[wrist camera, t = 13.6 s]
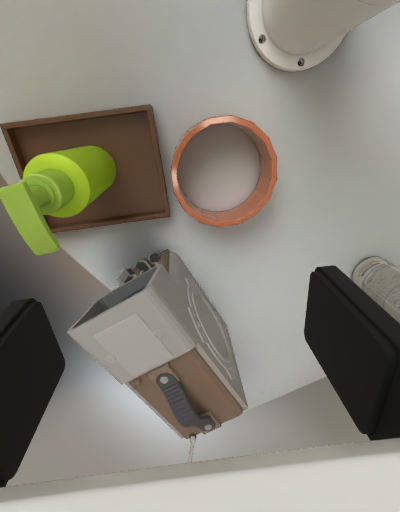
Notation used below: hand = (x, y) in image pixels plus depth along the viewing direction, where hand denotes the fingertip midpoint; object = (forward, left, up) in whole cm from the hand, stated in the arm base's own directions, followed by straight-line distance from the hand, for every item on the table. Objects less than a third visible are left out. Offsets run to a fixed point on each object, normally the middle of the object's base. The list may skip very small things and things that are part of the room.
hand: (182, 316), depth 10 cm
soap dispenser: (-2, -11, -32) cm, 34 cm away
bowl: (0, +6, -32) cm, 33 cm away
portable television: (+20, -4, -32) cm, 38 cm away
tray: (-2, -11, -32) cm, 34 cm away
